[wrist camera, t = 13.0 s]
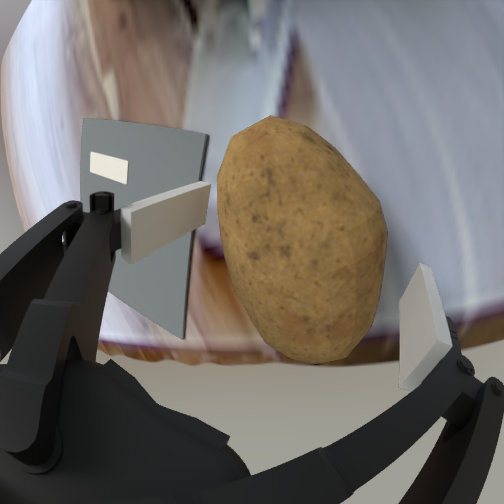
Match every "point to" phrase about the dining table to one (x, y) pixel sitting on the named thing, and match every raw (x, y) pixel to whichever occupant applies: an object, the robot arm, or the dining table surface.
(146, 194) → the tile
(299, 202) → the potato
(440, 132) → the dining table surface
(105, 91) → the dining table surface
